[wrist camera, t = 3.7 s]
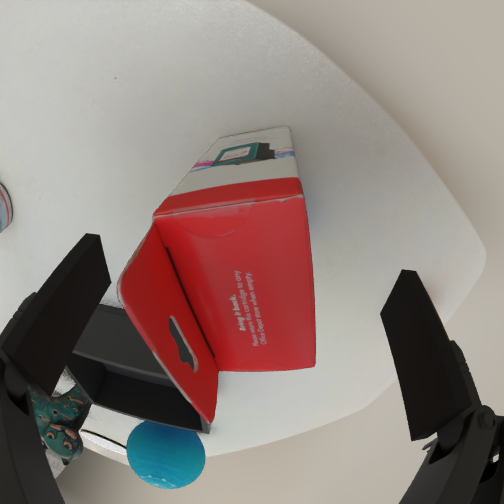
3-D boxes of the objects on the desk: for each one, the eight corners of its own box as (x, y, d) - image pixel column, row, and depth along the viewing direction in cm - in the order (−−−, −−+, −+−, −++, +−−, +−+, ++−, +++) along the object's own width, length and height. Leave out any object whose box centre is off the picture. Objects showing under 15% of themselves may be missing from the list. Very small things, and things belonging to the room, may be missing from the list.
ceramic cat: (102, 380, 41) (67, 478, 25) (107, 394, 45) (78, 482, 29) (19, 340, 40) (-22, 419, 23) (29, 357, 43) (-7, 431, 27)
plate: (119, 452, 85) (118, 454, 84) (74, 429, 77) (73, 431, 76) (143, 453, 76) (142, 456, 75) (91, 429, 68) (90, 432, 67)
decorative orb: (142, 422, 52) (126, 479, 40) (131, 396, 43) (108, 468, 31) (208, 438, 52) (198, 498, 40) (213, 416, 44) (200, 494, 31)
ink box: (305, 234, 22) (322, 428, 10) (241, 242, 23) (205, 428, 11) (290, 122, 17) (321, 261, 5) (215, 135, 18) (95, 281, 6)
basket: (215, 325, 29) (203, 382, 23) (216, 392, 38) (209, 434, 32) (72, 297, 29) (45, 339, 23) (106, 368, 38) (91, 403, 32)
